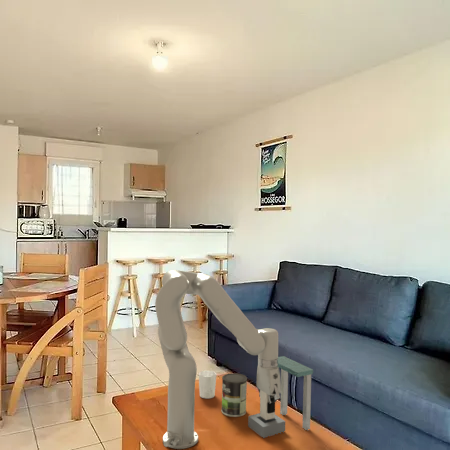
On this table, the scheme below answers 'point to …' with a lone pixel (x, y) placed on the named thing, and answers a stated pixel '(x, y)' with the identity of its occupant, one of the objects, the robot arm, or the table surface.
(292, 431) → the table surface
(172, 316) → the robot arm
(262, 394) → the peg
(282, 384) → the green-topped leg bench
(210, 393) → the white cup
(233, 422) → the table surface
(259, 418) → the socket
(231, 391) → the coffee can
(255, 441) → the table surface
